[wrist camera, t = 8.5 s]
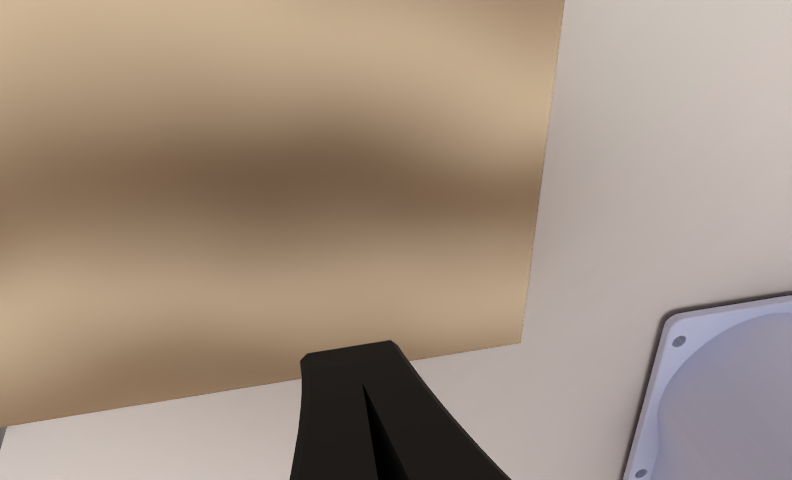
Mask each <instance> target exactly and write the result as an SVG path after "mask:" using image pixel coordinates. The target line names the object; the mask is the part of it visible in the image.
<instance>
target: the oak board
mask: <svg viewBox="0 0 792 480" xmlns="http://www.w3.org/2000/svg"><path fill="white" fill-rule="evenodd" d="M564 1H565V0H0V427H6V426H12V425H18V424H24V423H31V422H37V421H43V420H49V419H55V418H61V417H67V416H74V415H80V414H86V413H92V412H98V411H104V410H111V409H117V408H123V407H129V406H135V405H141V404H148V403H154V402H160V401H166V400H172V399H178V398H184V397H191V396H197V395H203V394H209V393H215V392H221V391H228V390H234V389H240V388H246V387H252V386H258V385H265V384H271V383H277V382H283V381H289V380H295V379H301V378H302V377H301V367H300V360H301V359H302V358H303V357H304V356H305V355H306V354H307V353H312V352H318V351H325V350H331V349H337V348H343V347H350V346H356V345H362V344H368V343H374V342H381V341H387V340H391V341H393V342H394V343H396V344H397V345H398V346H399V348H400V349H401V351H402V352H403V354H404V355H405V356H406V358H407V359H408V361H412V360H418V359H425V358H431V357H437V356H443V355H449V354H455V353H462V352H468V351H474V350H480V349H486V348H492V347H499V346H505V345H511V344H517V343H521V336H522V328H523V321H524V313H525V305H526V297H527V289H528V282H529V274H530V266H531V258H532V251H533V243H534V235H535V227H536V219H537V212H538V204H539V196H540V188H541V180H542V173H543V165H544V157H545V149H546V142H547V134H548V126H549V118H550V110H551V103H552V95H553V87H554V79H555V71H556V64H557V56H558V48H559V40H560V33H561V25H562V17H563V9H564Z"/></svg>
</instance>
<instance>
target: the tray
mask: <svg viewBox="0 0 792 480" xmlns="http://www.w3.org/2000/svg"><path fill="white" fill-rule="evenodd" d="M6 428H7V426H6V427H0V449H1V445H2V442H3V438H4V435H5V431H6Z"/></svg>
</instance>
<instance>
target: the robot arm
mask: <svg viewBox="0 0 792 480" xmlns="http://www.w3.org/2000/svg"><path fill="white" fill-rule="evenodd" d="M300 367H301V377H302V398H301V410H300V420H299V429H298V435H297V441H296V447H295V453H294V458H293V464H292V470H291V475H290V480H511V479H510V478H509V477H508V476H507V475H506V474H505V473H504V472H503V471H502V470H501V469H500V468H499V467H498V466H497V465H496V464H495V463H494V462H493V460H492V459H491V458H490V457H489V456H488V455H487V454H486V453H485V452H484V451H483V450H482V449H481V448H480V447H479V446H478V444H477V443H476V442H475V441H474V440H473V439H472V438H471V437H470V436H469V434H468V433H467V432H466V431H465V430H464V429H463V428H462V427H461V425H460V424H459V423H458V422H457V421H456V420H455V419H454V418H453V416H452V415H451V414H450V413H449V412H448V411H447V409H446V408H445V407H444V406H443V405H442V403H441V402H440V401H439V400H438V398H437V397H436V396H435V395H434V394H433V392H432V391H431V390H430V389H429V387H428V386H427V385H426V383H425V382H424V381H423V380H422V378H421V377H420V376H419V374H418V373H417V372H416V370H415V369H414V368H413V366H412V365H411V363H410V362H409V361H408V359H407V358H406V356H405V355H404V354H403V352H402V351H401V349H400V348H399V346H398V345H397V344H396V343H394V342H393V341H391V340H387V341H381V342H374V343H368V344H362V345H356V346H350V347H343V348H337V349H331V350H325V351H318V352H312V353H307V354H306V355H305V356H304V357H303V358H302V359H301V360H300ZM623 480H792V295H789V296H783V297H776V298H770V299H764V300H758V301H752V302H745V303H739V304H733V305H727V306H721V307H714V308H708V309H702V310H696V311H690V312H683V313H678V314H675V315H673V316H671V317H670V318H669V319H668V320H667V321H666V323H665V325H664V328H663V332H662V335H661V339H660V343H659V347H658V350H657V354H656V358H655V362H654V365H653V369H652V373H651V377H650V380H649V384H648V388H647V391H646V395H645V399H644V403H643V406H642V410H641V414H640V418H639V421H638V425H637V429H636V433H635V436H634V440H633V444H632V448H631V451H630V455H629V459H628V463H627V466H626V470H625V474H624V477H623Z"/></svg>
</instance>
